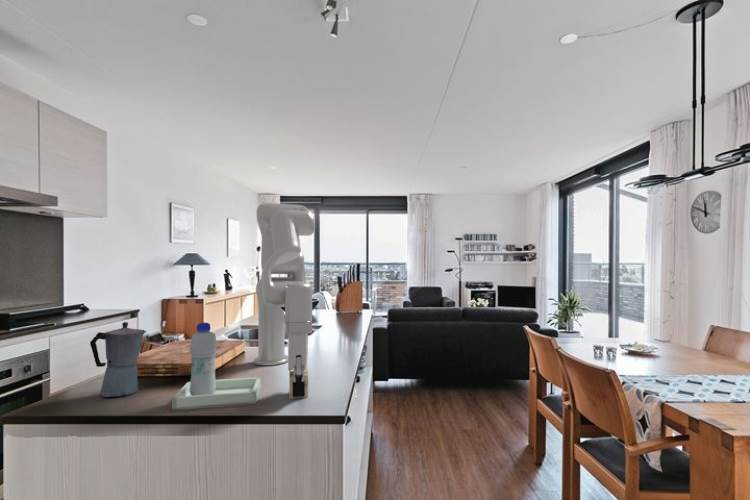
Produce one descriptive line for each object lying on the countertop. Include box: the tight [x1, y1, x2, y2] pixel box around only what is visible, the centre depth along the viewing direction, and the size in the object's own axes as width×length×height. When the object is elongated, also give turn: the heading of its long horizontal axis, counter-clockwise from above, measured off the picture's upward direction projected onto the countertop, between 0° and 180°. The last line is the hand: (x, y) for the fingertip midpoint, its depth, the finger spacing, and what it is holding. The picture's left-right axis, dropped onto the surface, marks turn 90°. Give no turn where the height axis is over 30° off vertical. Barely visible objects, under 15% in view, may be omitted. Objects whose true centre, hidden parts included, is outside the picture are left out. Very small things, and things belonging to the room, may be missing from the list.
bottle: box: [189, 322, 218, 396], centre depth 104 cm, size 7×7×20 cm
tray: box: [171, 376, 262, 411], centre depth 104 cm, size 14×20×3 cm
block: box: [288, 369, 309, 399], centre depth 107 cm, size 5×5×6 cm
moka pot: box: [89, 321, 147, 398], centre depth 109 cm, size 10×15×20 cm, turn 161°
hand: (298, 392), depth 106 cm, fingers closed on block, 5 cm apart
